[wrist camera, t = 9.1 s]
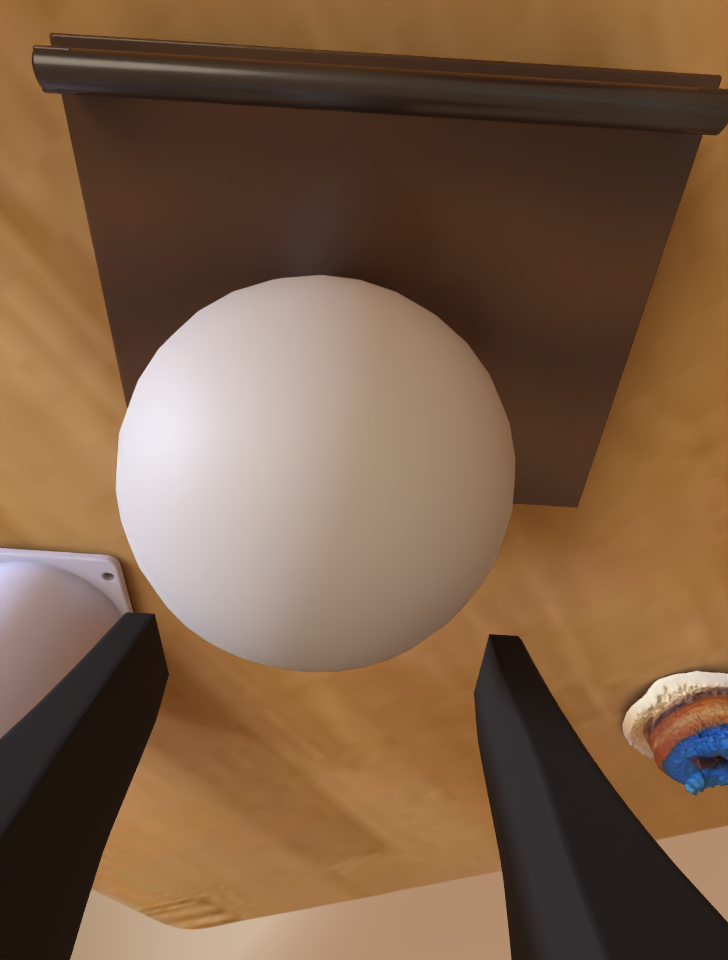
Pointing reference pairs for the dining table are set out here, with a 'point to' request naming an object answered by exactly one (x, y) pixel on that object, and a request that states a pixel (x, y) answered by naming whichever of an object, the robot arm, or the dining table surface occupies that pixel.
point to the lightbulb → (315, 473)
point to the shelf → (392, 203)
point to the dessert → (684, 728)
